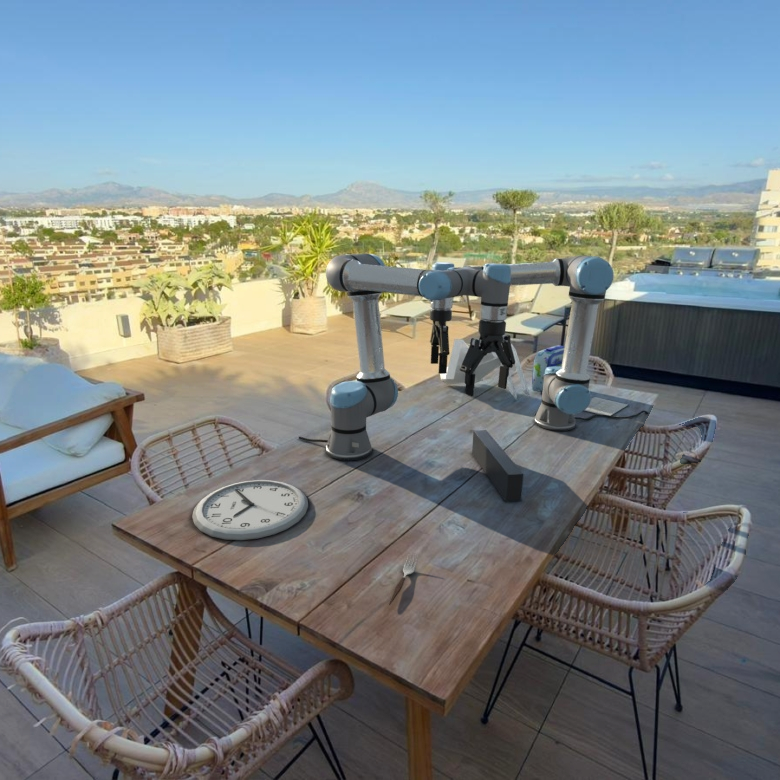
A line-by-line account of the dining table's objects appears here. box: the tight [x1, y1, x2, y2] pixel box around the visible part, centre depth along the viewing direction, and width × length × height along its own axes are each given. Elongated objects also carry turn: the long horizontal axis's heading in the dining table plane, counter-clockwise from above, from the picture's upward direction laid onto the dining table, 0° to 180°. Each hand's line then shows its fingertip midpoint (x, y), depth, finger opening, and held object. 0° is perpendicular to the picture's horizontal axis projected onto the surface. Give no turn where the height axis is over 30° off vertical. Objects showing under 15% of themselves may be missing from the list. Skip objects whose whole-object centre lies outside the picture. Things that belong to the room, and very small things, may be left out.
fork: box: [388, 554, 419, 606], centre depth 112 cm, size 3×16×2 cm, turn 160°
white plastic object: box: [439, 338, 531, 400], centre depth 245 cm, size 37×45×31 cm
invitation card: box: [583, 396, 629, 416], centre depth 226 cm, size 21×1×15 cm
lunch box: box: [531, 345, 565, 393], centre depth 245 cm, size 26×11×21 cm, turn 134°
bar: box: [471, 429, 524, 503], centre depth 161 cm, size 33×4×8 cm, turn 8°
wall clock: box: [191, 479, 309, 541], centre depth 140 cm, size 30×2×30 cm
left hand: (486, 391), depth 154 cm, fingers open, 13 cm apart
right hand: (438, 368), depth 187 cm, fingers open, 13 cm apart
